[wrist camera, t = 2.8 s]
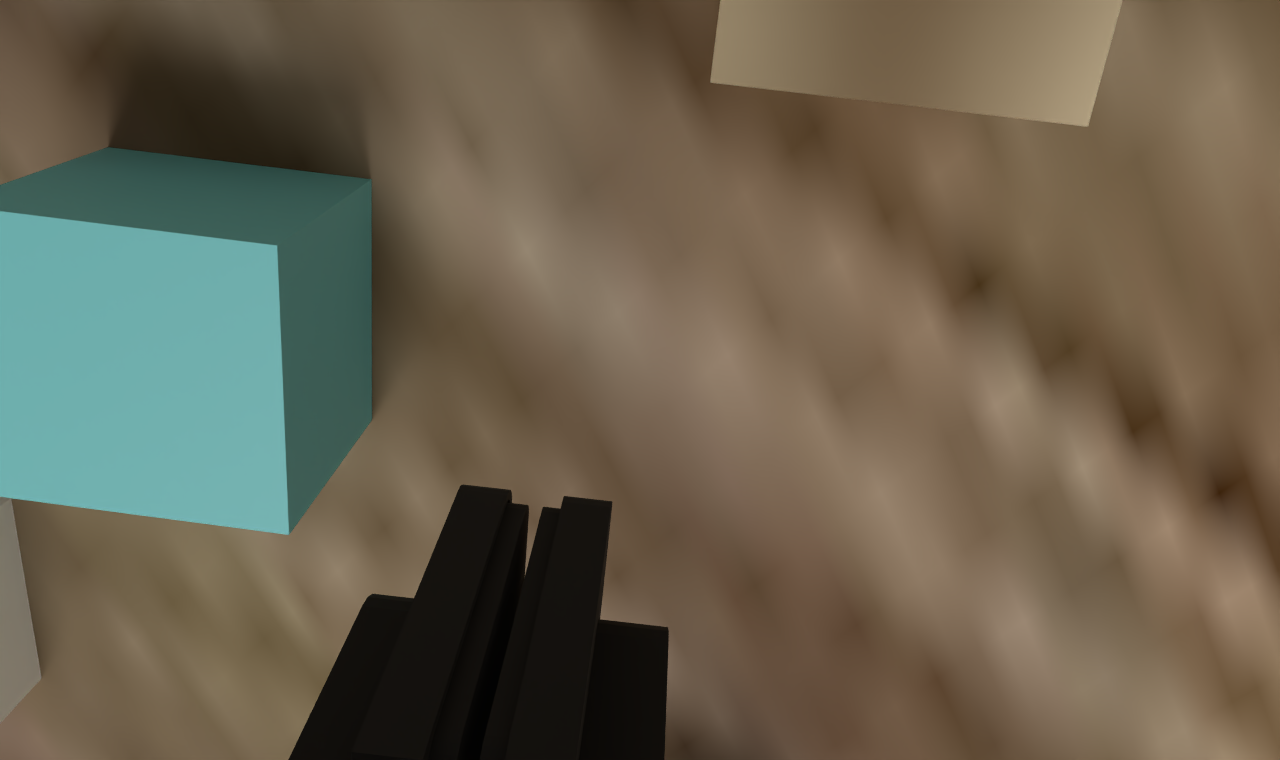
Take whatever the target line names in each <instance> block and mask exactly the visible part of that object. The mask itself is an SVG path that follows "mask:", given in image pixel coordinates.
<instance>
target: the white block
mask: <svg viewBox="0 0 1280 760" xmlns="http://www.w3.org/2000/svg"><path fill="white" fill-rule="evenodd" d="M40 680H41V672H40V666H39V660H38V654H37V648H36V642H35V636H34V631H33V625H32V619H31V613H30V607H29V601H28V595H27V589H26V583H25V577H24V571H23V565H22V560H21V554H20V548H19V542H18V536H17V530H16V524H15V518H14V512H13V506H12V500H11V498H6V497H0V723H1V722H2V721H3V720H4V719H5V718H6V717H7V715H8V714H9V713H10V712H11V711H12V710H13V709H14V708H15V707H16V706H17V705H18V703H19V702H20V701H21V700H22V699H23V698H24V697H25V696H26V695H27V694H28V693H29V691H30V690H31V689H32V688H33V687H34V686H35V685H36V684H37V683H38V682H39V681H40Z"/></svg>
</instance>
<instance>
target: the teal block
mask: <svg viewBox="0 0 1280 760" xmlns="http://www.w3.org/2000/svg"><path fill="white" fill-rule="evenodd" d="M371 421H372V179H365V178H357V177H349V176H340V175H332V174H324V173H316V172H308V171H299V170H291V169H283V168H275V167H267V166H259V165H250V164H242V163H234V162H226V161H218V160H209V159H201V158H193V157H185V156H177V155H168V154H160V153H152V152H144V151H136V150H128V149H119V148H111V147H107V148H104V149H102V150H99V151H96V152H93V153H90V154H87V155H84V156H82V157H79V158H76V159H73V160H70V161H67V162H64V163H62V164H59V165H56V166H53V167H50V168H47V169H44V170H42V171H39V172H36V173H33V174H30V175H27V176H25V177H22V178H19V179H16V180H13V181H10V182H7V183H5V184H2V185H0V497H6V498H14V499H21V500H29V501H37V502H44V503H52V504H59V505H67V506H74V507H82V508H90V509H97V510H105V511H112V512H120V513H128V514H135V515H143V516H150V517H158V518H166V519H173V520H181V521H188V522H196V523H203V524H211V525H219V526H226V527H234V528H241V529H249V530H257V531H264V532H272V533H279V534H287V535H289V534H290V533H291V531H292V530H293V529H294V527H295V526H296V524H297V523H298V522H299V520H300V519H301V517H302V516H303V515H304V513H305V512H306V511H307V509H308V508H309V506H310V505H311V504H312V502H313V501H314V499H315V498H316V497H317V495H318V494H319V493H320V491H321V490H322V488H323V487H324V486H325V484H326V483H327V481H328V480H329V479H330V477H331V476H332V475H333V473H334V472H335V470H336V469H337V468H338V466H339V465H340V463H341V462H342V461H343V459H344V458H345V457H346V455H347V454H348V452H349V451H350V450H351V448H352V447H353V445H354V444H355V443H356V441H357V440H358V439H359V437H360V436H361V434H362V433H363V432H364V430H365V429H366V427H367V426H368V425H369V423H370V422H371Z"/></svg>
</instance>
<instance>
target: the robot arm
mask: <svg viewBox="0 0 1280 760" xmlns="http://www.w3.org/2000/svg"><path fill="white" fill-rule="evenodd" d="M611 510H612V501H603V500H594V499H585V498H577V497H568V496H564V498H563V501H562V506H561V509H558V508H549V507H543V509H542V512H541V516H540V520H539V524H538V528H537V532H536V536H535V540H534V544H533V548H532V551H531V555H530V559H529V563H528V567H527V571H526V575H525V562H526V548H527V533H528V517H529V507H528V505H523V504H514V503H512V493H511V490H506V489H497V488H488V487H479V486H471V485H461V486H460V488H459V490H458V492H457V495H456V497H455V500H454V502H453V505H452V507H451V509H450V512H449V514H448V517H447V519H446V522H445V524H444V527H443V529H442V531H441V534H440V536H439V539H438V541H437V544H436V546H435V549H434V551H433V553H432V556H431V558H430V561H429V563H428V566H427V568H426V571H425V573H424V575H423V578H422V580H421V583H420V585H419V588H418V590H417V593H416V595H415V597H414V598H405V597H396V596H388V595H379V594H372V595H370V596H369V597H367V599H366V601H365V602H364V604H363V606H362V608H361V610H360V612H359V614H358V616H357V618H356V620H355V622H354V624H353V626H352V628H351V630H350V633H349V635H348V637H347V639H346V641H345V643H344V645H343V647H342V649H341V651H340V653H339V656H338V658H337V660H336V662H335V664H334V666H333V668H332V670H331V672H330V674H329V676H328V678H327V681H326V683H325V685H324V687H323V689H322V691H321V693H320V695H319V697H318V699H317V701H316V703H315V706H314V708H313V710H312V712H311V714H310V716H309V718H308V720H307V722H306V724H305V726H304V729H303V731H302V733H301V735H300V737H299V739H298V741H297V743H296V745H295V747H294V749H293V751H292V754H291V756H290V758H289V760H664V754H665V725H666V697H667V668H668V635H669V631H668V627H661V626H652V625H643V624H635V623H626V622H617V621H608V620H600V614H601V605H602V596H603V586H604V577H605V567H606V558H607V548H608V539H609V529H610V520H611ZM524 577H525V579H524Z"/></svg>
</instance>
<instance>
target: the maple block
mask: <svg viewBox="0 0 1280 760" xmlns="http://www.w3.org/2000/svg"><path fill="white" fill-rule="evenodd" d="M1122 1H1123V0H720V5H719V13H718V21H717V29H716V37H715V45H714V53H713V62H712V72H711V81H710V83H718V84H727V85H735V86H744V87H753V88H761V89H770V90H778V91H787V92H795V93H804V94H813V95H821V96H830V97H838V98H847V99H855V100H864V101H873V102H881V103H890V104H898V105H907V106H915V107H924V108H933V109H941V110H950V111H958V112H967V113H975V114H984V115H993V116H1001V117H1010V118H1018V119H1027V120H1035V121H1044V122H1053V123H1061V124H1070V125H1078V126H1087V127H1088V124H1089V121H1090V117H1091V113H1092V110H1093V106H1094V102H1095V99H1096V95H1097V92H1098V88H1099V84H1100V81H1101V77H1102V73H1103V70H1104V66H1105V62H1106V59H1107V55H1108V52H1109V48H1110V44H1111V41H1112V37H1113V33H1114V30H1115V26H1116V23H1117V19H1118V15H1119V12H1120V8H1121V4H1122Z"/></svg>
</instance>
